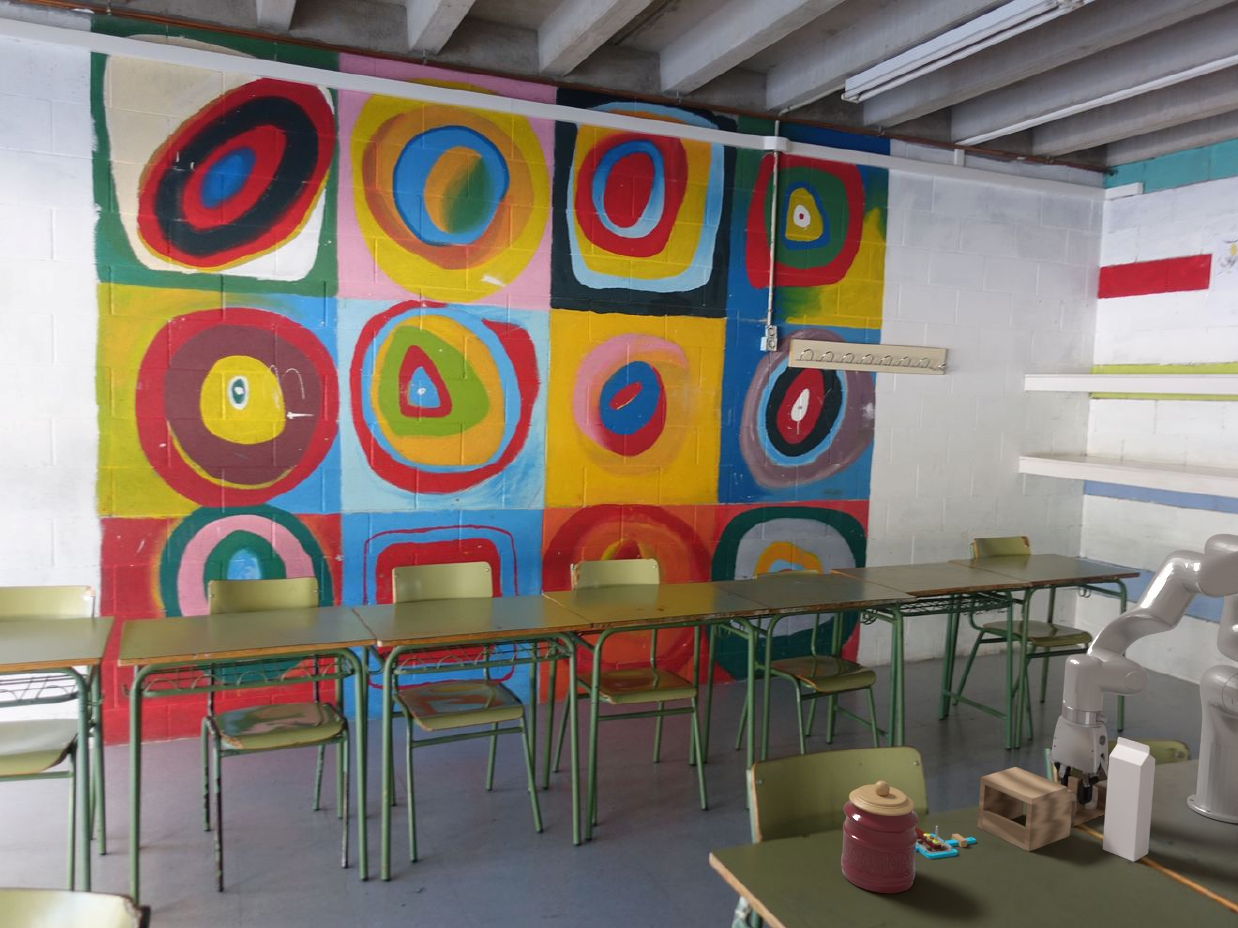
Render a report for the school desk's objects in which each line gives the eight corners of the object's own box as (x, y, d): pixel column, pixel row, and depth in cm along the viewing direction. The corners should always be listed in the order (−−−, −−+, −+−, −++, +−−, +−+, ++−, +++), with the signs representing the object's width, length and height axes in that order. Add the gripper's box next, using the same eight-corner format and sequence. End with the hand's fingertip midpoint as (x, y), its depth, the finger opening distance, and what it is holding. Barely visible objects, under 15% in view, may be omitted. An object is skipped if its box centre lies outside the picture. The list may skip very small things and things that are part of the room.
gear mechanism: (870, 842, 183) (898, 865, 174) (871, 816, 183) (900, 837, 174) (955, 831, 189) (987, 853, 180) (957, 805, 189) (989, 826, 180)
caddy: (1079, 800, 205) (1081, 765, 205) (1110, 813, 199) (1113, 776, 199) (1040, 813, 198) (1042, 776, 197) (1071, 827, 192) (1073, 789, 191)
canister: (825, 865, 172) (830, 772, 171) (882, 853, 178) (887, 763, 176) (871, 900, 161) (876, 801, 159) (930, 887, 166) (936, 790, 164)
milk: (1133, 862, 178) (1142, 749, 176) (1101, 849, 183) (1110, 739, 181) (1148, 853, 181) (1157, 743, 180) (1116, 840, 186) (1124, 733, 184)
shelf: (1018, 813, 197) (1021, 764, 197) (1069, 835, 188) (1073, 784, 187) (977, 827, 190) (980, 776, 189) (1028, 851, 180) (1032, 798, 180)
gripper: (1130, 723, 192) (1124, 810, 193) (1055, 700, 206) (1050, 781, 207) (1109, 729, 188) (1103, 818, 189) (1035, 705, 202) (1029, 788, 203)
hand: (1075, 798), depth 198 cm, fingers open, 3 cm apart
